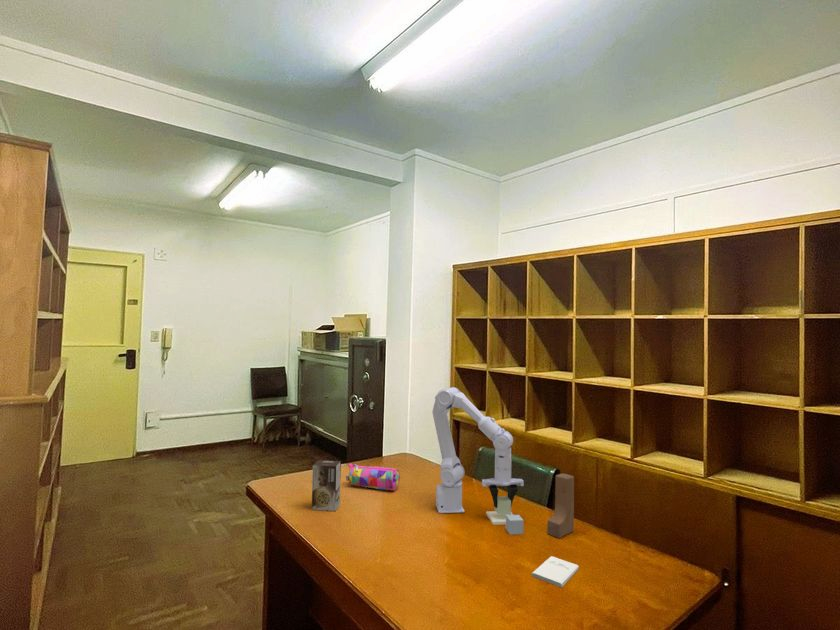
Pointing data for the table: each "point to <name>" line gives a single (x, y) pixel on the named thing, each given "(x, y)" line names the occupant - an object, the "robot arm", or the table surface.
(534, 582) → the table surface
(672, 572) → the table surface
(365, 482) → the pencil case
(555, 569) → the external hard drive
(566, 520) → the wooden block
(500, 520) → the base tile
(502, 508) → the sage cube
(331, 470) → the coffee box
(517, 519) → the slate cube
